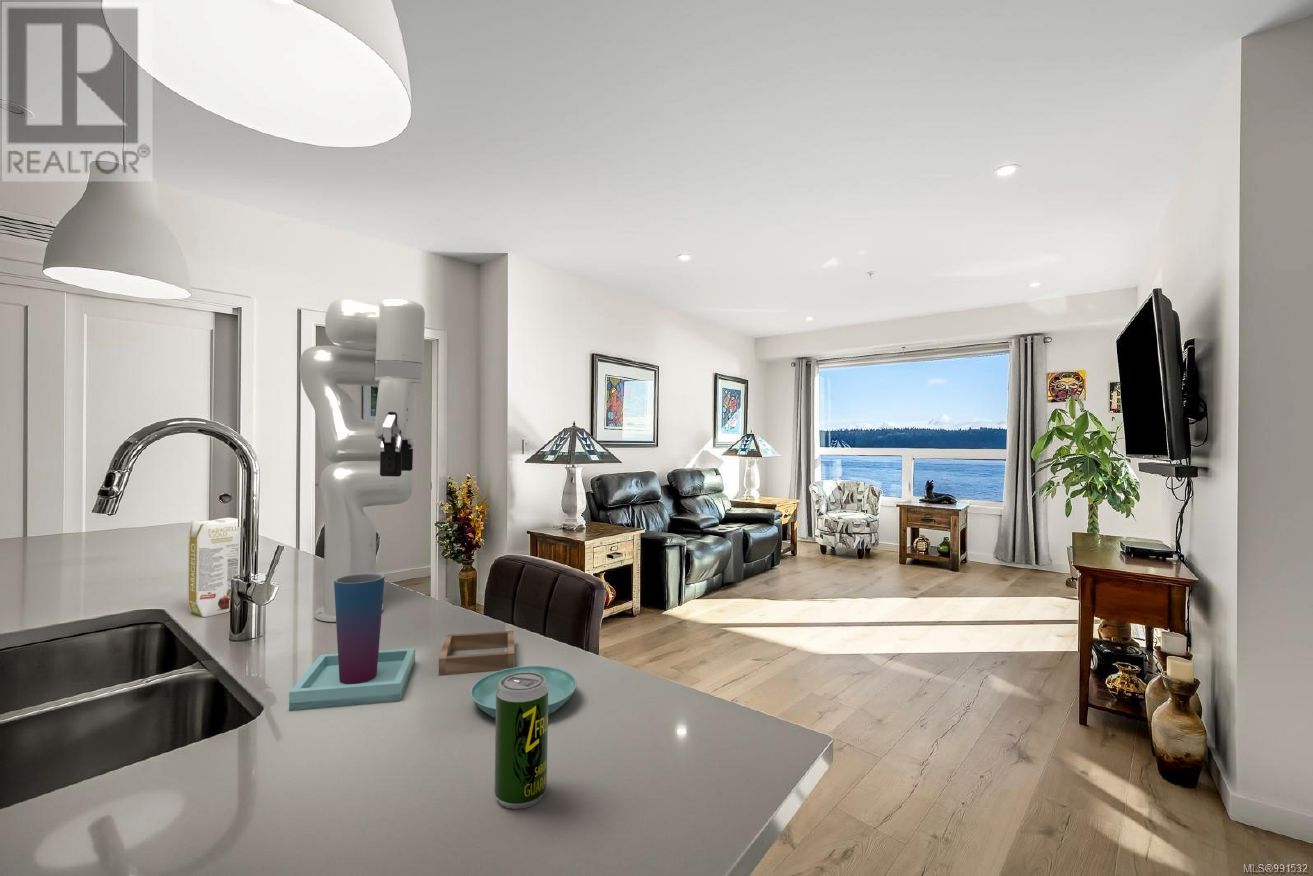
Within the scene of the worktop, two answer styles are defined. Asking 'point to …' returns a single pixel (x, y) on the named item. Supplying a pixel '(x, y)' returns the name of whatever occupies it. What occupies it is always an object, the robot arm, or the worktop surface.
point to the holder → (476, 660)
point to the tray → (328, 691)
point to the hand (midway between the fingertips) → (396, 473)
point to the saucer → (556, 679)
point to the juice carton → (212, 565)
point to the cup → (358, 625)
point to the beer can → (521, 739)
